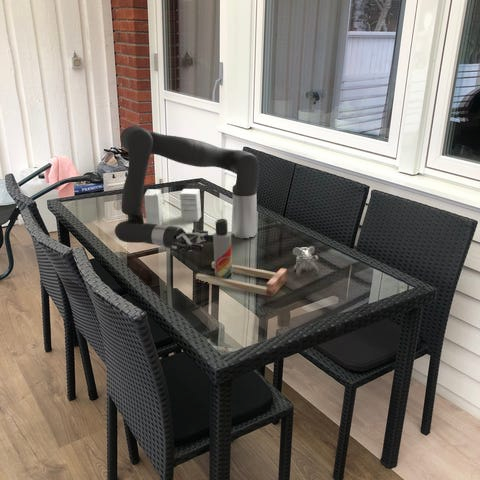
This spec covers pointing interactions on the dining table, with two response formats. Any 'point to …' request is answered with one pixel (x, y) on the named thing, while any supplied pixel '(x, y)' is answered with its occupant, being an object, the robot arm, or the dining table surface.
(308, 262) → the elephant statuette
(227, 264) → the lotion bottle
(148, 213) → the skincare box
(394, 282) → the dining table surface
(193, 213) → the supplement box
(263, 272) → the guide lane
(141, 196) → the robot arm
